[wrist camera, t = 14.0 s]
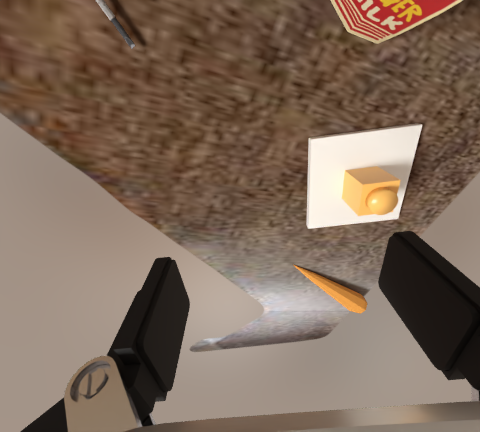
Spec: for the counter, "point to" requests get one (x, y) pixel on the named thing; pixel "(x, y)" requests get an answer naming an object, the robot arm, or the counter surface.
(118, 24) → the screwdriver
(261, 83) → the counter surface
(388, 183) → the gold domed block
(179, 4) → the counter surface
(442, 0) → the milk carton
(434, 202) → the counter surface
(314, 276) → the carrot
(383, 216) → the white plate
